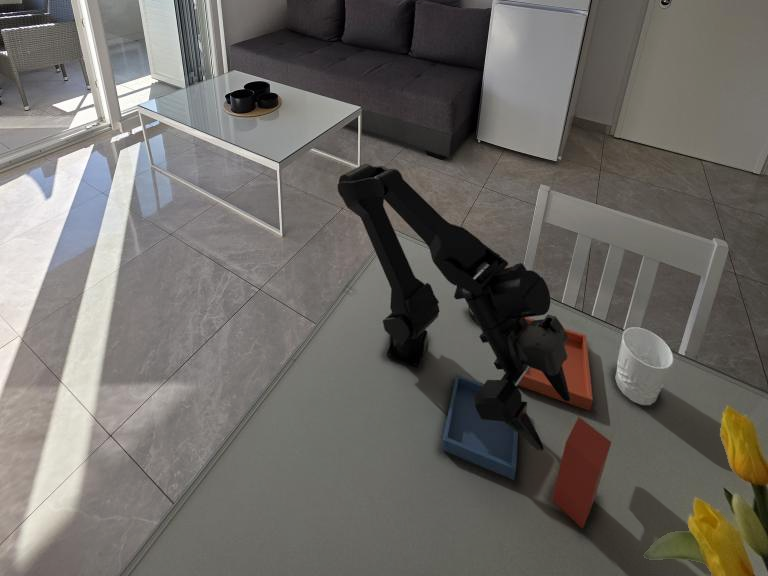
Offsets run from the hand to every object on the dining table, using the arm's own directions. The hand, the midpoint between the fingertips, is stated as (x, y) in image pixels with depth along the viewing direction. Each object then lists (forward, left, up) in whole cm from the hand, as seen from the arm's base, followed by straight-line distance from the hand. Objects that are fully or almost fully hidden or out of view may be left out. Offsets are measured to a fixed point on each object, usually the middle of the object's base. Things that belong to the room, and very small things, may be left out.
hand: (554, 423), depth 63 cm
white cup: (+16, +20, -11) cm, 28 cm away
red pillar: (+4, -2, -11) cm, 12 cm away
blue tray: (-10, +3, -11) cm, 15 cm away
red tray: (+1, +19, -11) cm, 22 cm away
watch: (-12, +25, -11) cm, 30 cm away
